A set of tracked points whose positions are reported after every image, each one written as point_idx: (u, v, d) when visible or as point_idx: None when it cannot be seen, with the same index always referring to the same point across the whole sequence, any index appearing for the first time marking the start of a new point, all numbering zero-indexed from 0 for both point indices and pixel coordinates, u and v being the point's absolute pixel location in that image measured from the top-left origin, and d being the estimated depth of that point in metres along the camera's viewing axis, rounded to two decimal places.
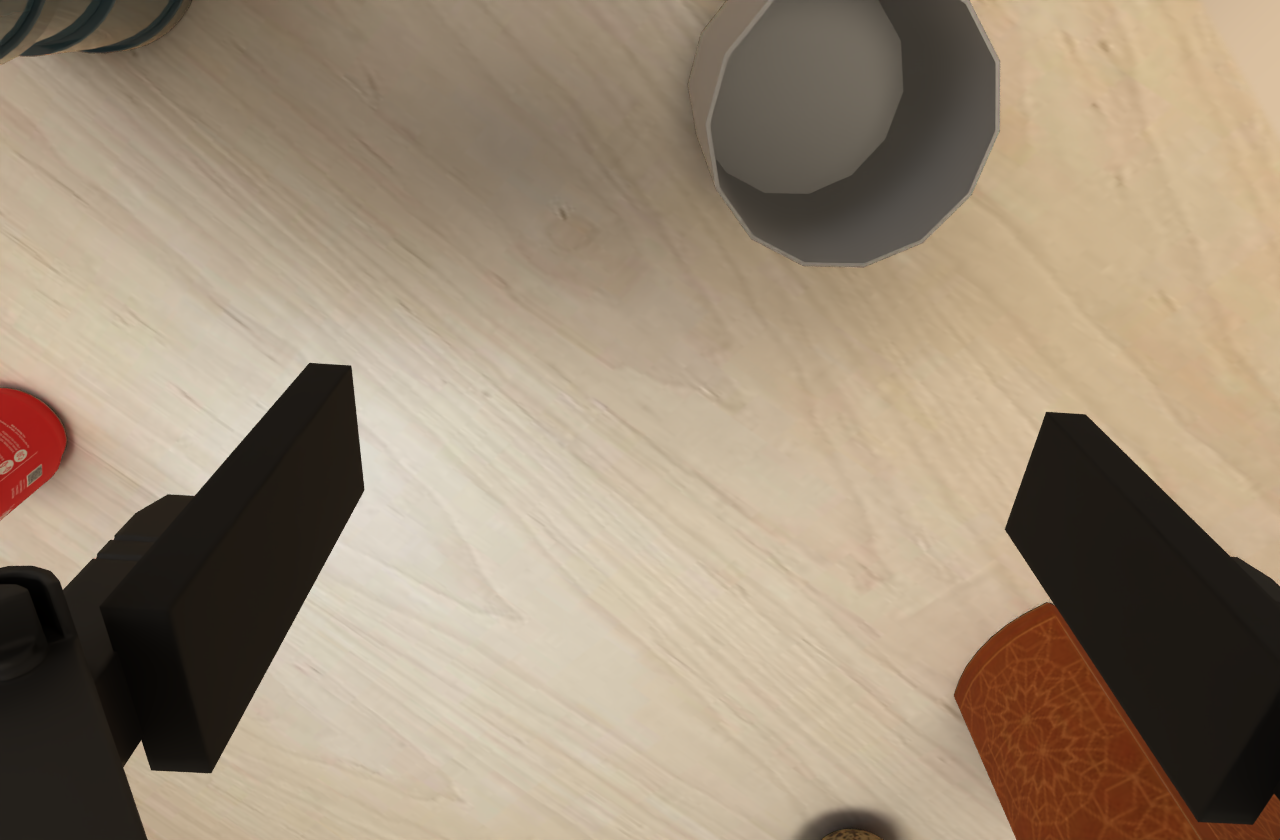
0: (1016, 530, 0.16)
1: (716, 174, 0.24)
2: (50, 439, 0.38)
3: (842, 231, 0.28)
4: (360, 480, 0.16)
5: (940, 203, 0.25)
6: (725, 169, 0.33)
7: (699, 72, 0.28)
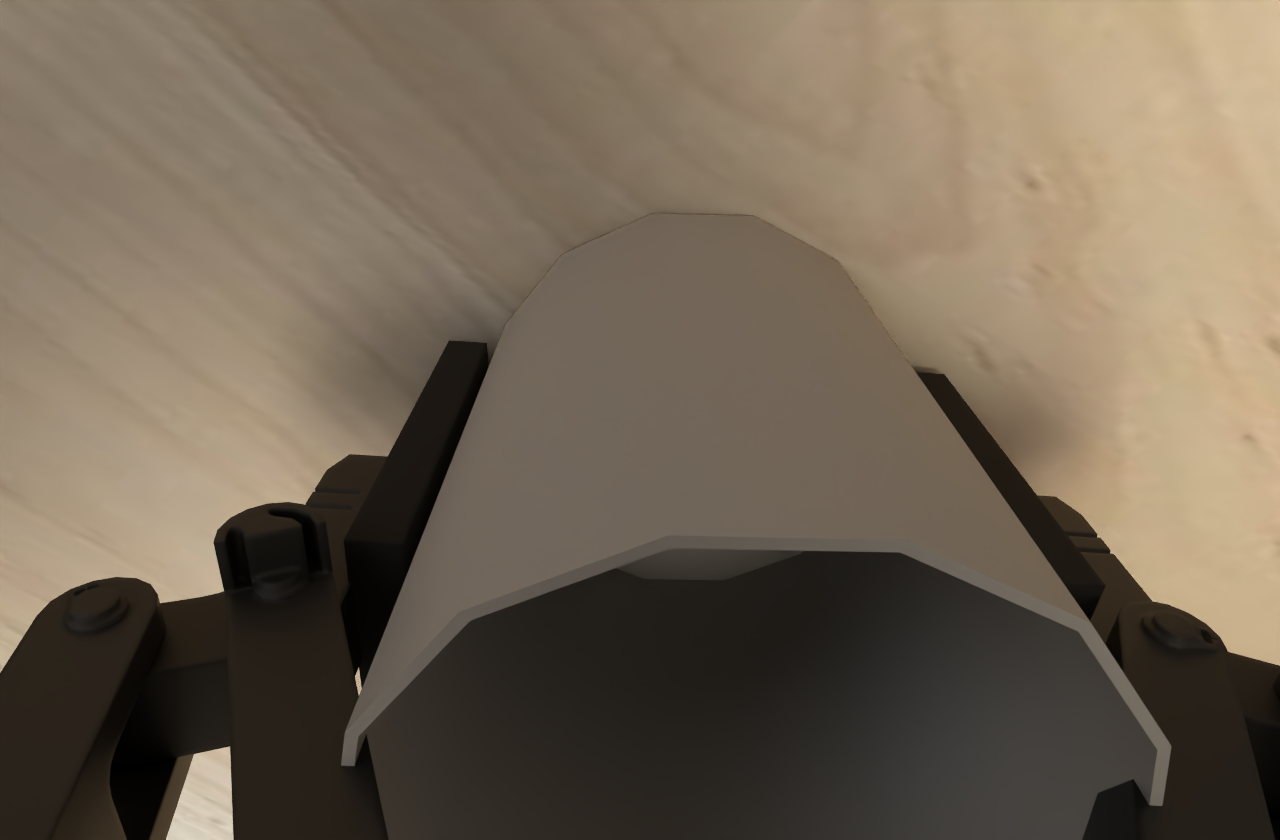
0: None
1: None
2: None
3: (761, 812, 0.13)
4: None
5: None
6: None
7: None
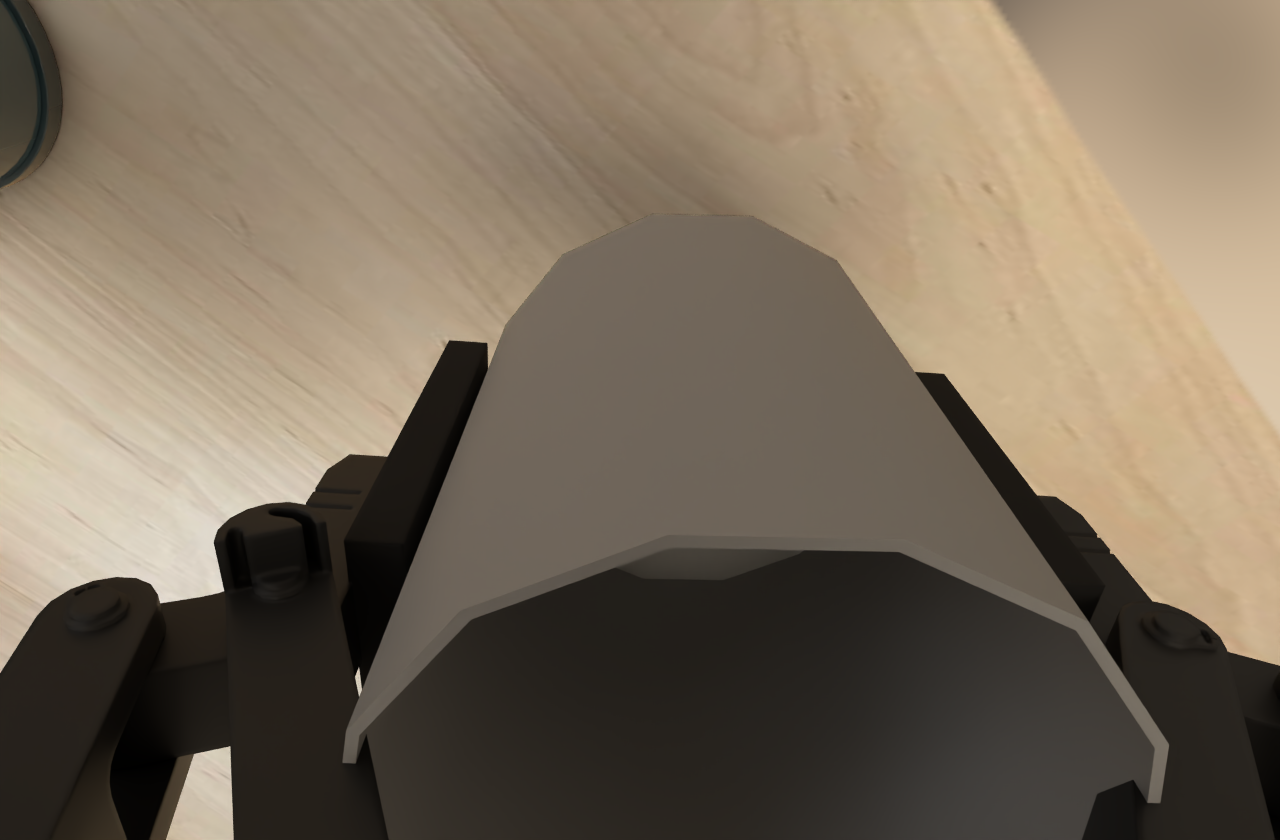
0: None
1: None
2: None
3: (761, 811, 0.13)
4: None
5: None
6: None
7: None
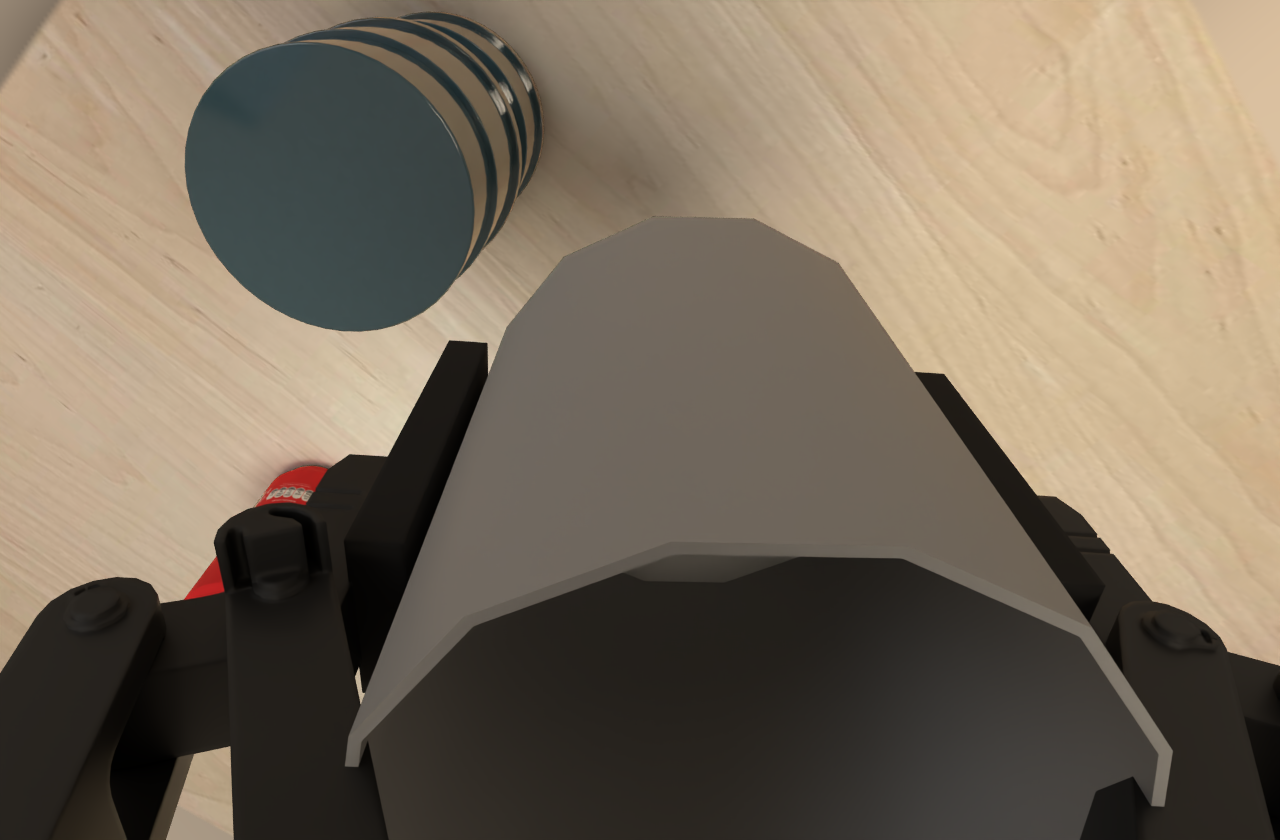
0: None
1: None
2: None
3: (763, 815, 0.13)
4: None
5: None
6: None
7: None
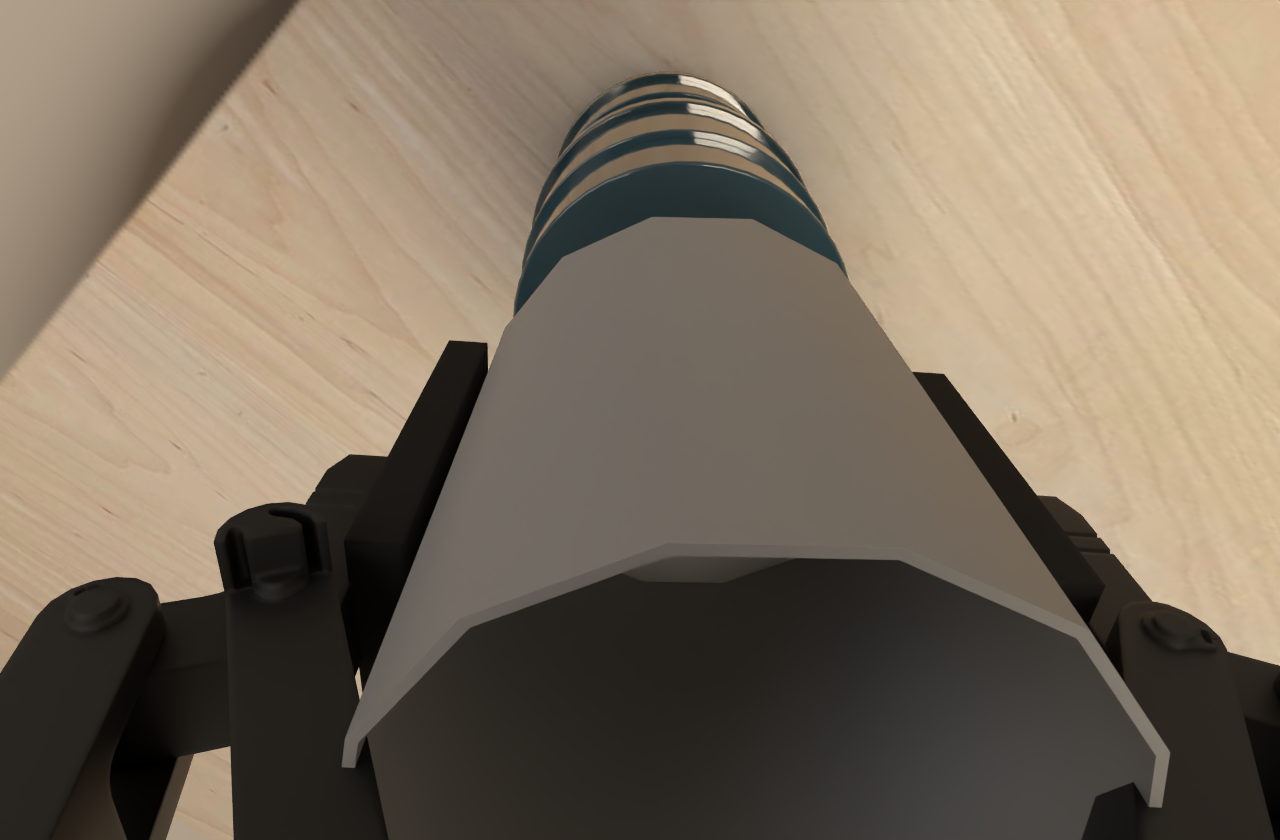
0: None
1: None
2: None
3: (761, 816, 0.13)
4: None
5: None
6: None
7: None
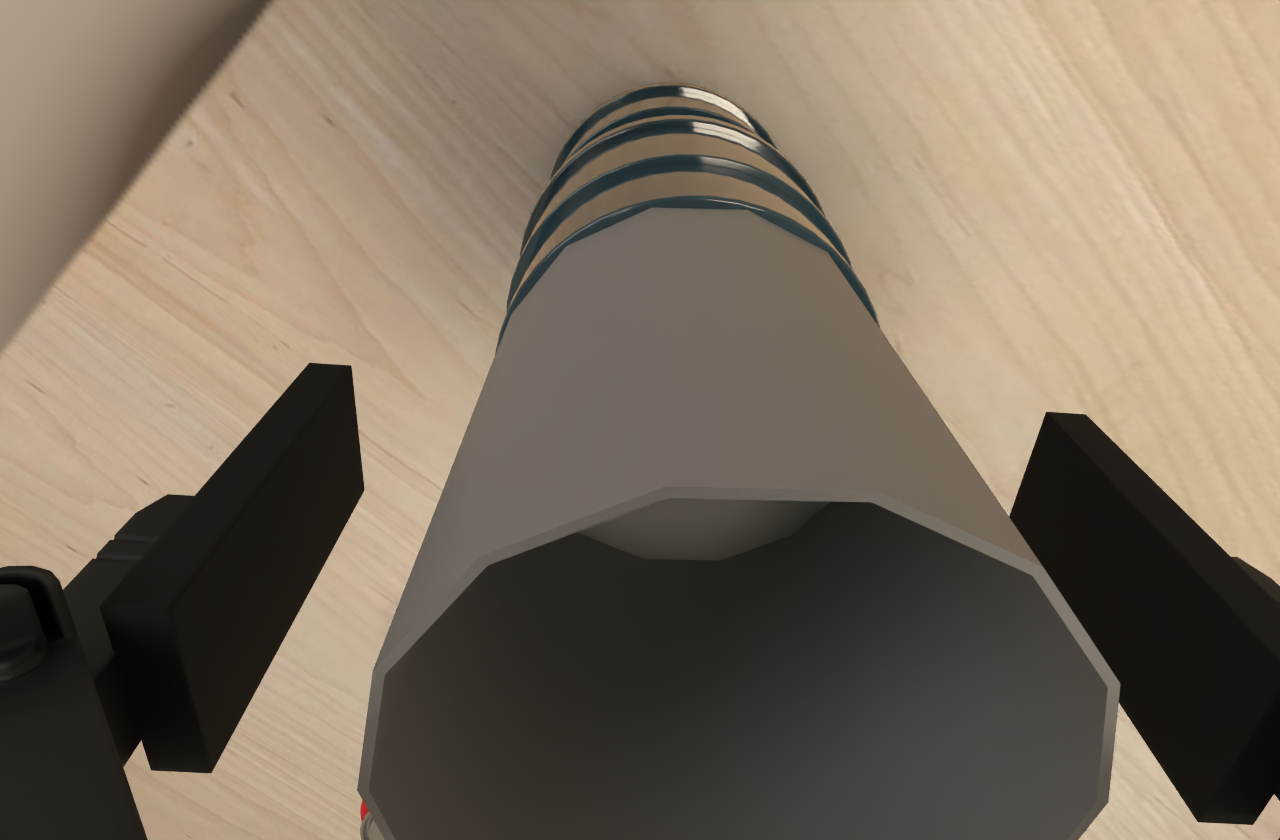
0: None
1: None
2: None
3: (754, 772, 0.14)
4: (360, 480, 0.16)
5: None
6: None
7: None
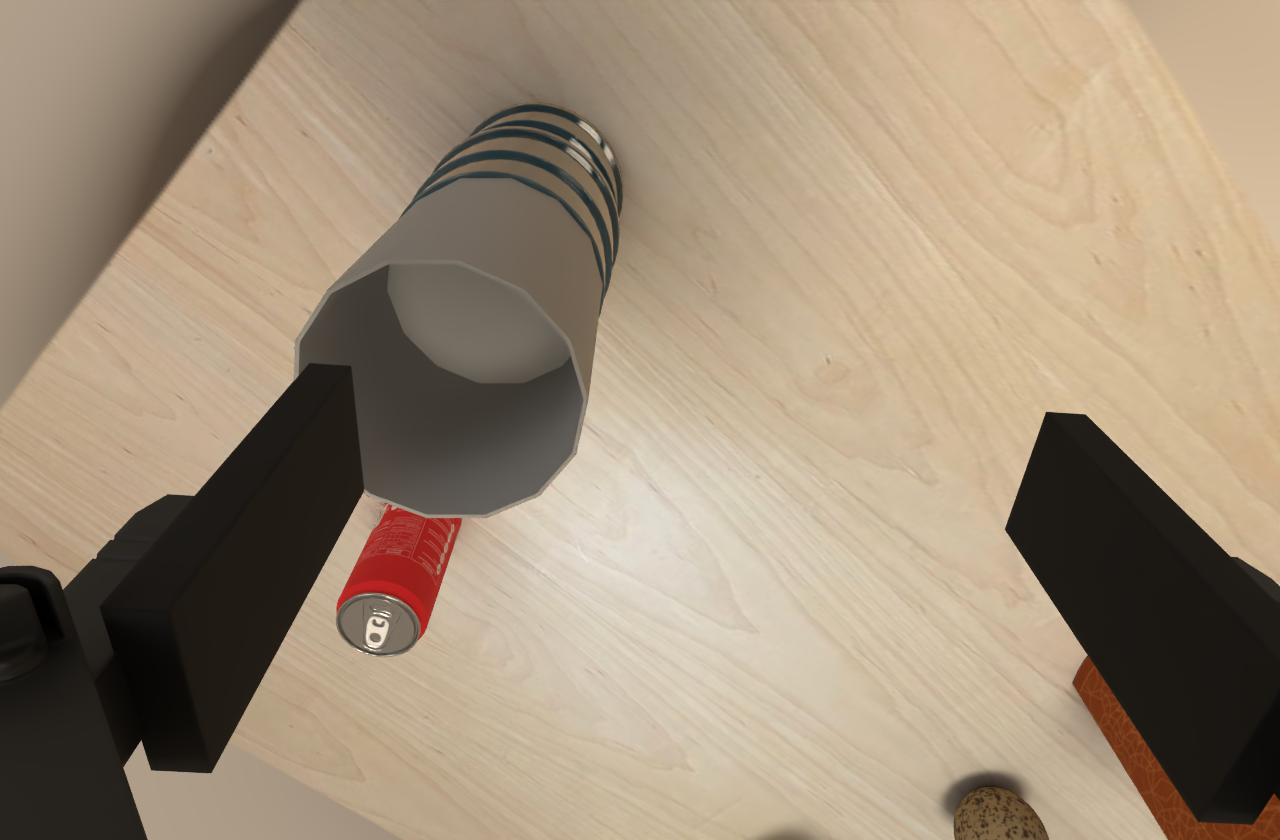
0: (1016, 530, 0.16)
1: None
2: None
3: (504, 455, 0.28)
4: (360, 480, 0.16)
5: (561, 453, 0.25)
6: (435, 363, 0.33)
7: None
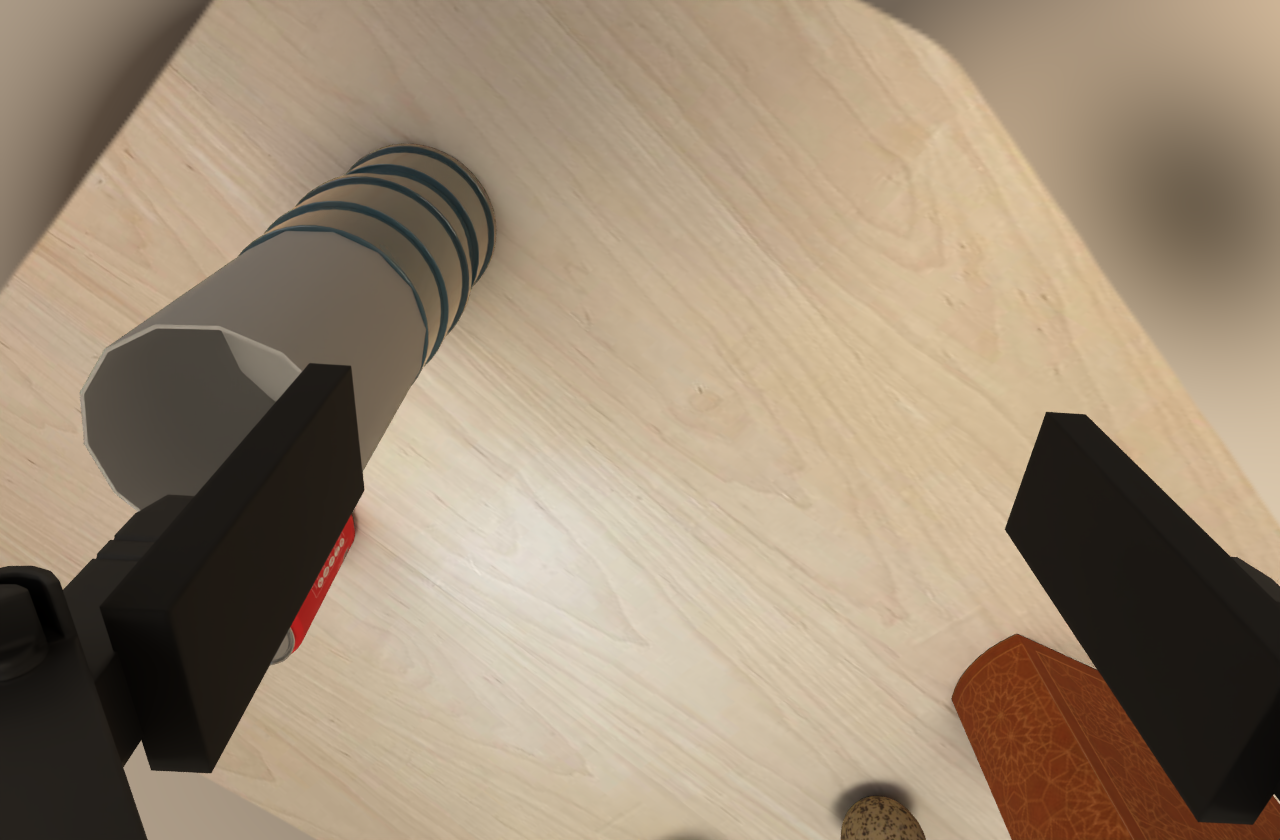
0: (1016, 530, 0.16)
1: (109, 482, 0.26)
2: (351, 529, 0.57)
3: None
4: (360, 480, 0.16)
5: None
6: (272, 398, 0.35)
7: None
